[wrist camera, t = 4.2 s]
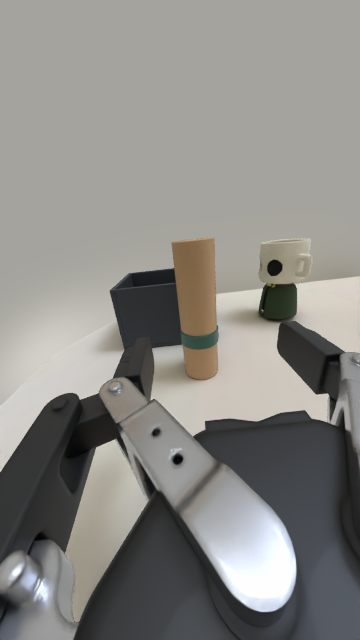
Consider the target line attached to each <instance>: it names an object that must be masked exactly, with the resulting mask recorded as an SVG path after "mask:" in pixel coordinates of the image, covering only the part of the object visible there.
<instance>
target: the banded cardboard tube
mask: <svg viewBox="0 0 360 640" xmlns="http://www.w3.org/2000/svg"><path fill="white" fill-rule="evenodd" d="M172 251H173V260H174V269H175V278H176V287H177V296H178V306H179V315H180V324H181V327H180V336H181V343H182V344H183V351H184V360H185V369H186V373H187V374H188V375H189V376H190V377H191V378H194V379H198V380H204V379H209V378H211V377H213V376H214V375H215V374H216V373H217V371H218V360H217V342H218V326H217V322H216V286H215V285H216V283H215V245H214V238H201V239H191V240H182V241H175V242H172Z"/></svg>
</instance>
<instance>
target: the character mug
mask: <svg viewBox="0 0 360 640" xmlns="http://www.w3.org/2000/svg"><path fill="white" fill-rule="evenodd" d="M310 245H311V239H284V240H274V241H267V242H262V244H261V252H260V269H259V273H258V274H259V279H260V280H261V281H262V282H266V285H265V286H264V288H263V292H262V296H261V300H260V306H259V314H260V315H261V310H262V309H263V310H264V317H267V318H271V319H285V318H289V317H292V316H294V315H296V313H297V288H296V285H295V284H294V283H296V282H300V281H302V280H304V278H305V277H308V276H309V275H310V272H311V266H312V260H313V257H312V256H311V255H309V251H310Z"/></svg>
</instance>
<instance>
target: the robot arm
mask: <svg viewBox="0 0 360 640" xmlns="http://www.w3.org/2000/svg"><path fill="white" fill-rule="evenodd" d="M277 349H278V352H279V354H280V355H281V357H282V358H283V359H284V360H285V361H286V362H287V363H288V364H289V365H290V366H291V367H292V369H293V370H294V371H295V372H296V373H297V374H298V375H299V376H300V377H301V378H302V380H303V381H304V382H305V383H306V384H307V385H308V386H309V387H310V388H311V389H312V390H313V392H314V393H315V394H325V393H328V394H329V397H328V409H327V422H324V421H320V420H315V419H311V417H310V416H309V415H308V414H307V412H306V411H305V410H304V411H294V412H285V413H279V414H277V415H274V416H272V417H269V418H266V419H264V420H261V421H258V422H255V421H246V420H237V419H221V420H212V421H205V429H206V430H204V431H201V432H199V433H198V434H196V435H195V436H193V437H192V436H191V435H190V434H189V433H188V432H187V431H186V430H185V428H184V427H183V426H182V425H181V424H180V423H179V422H178V421H177V420H176V419H175V418H174V417H173V416H172V415H171V414H170V413H169V412H168V411H167V410H166V409H165V408H164V407H163V406H162V405H161V404H160V403H159V402H158V401H157V400H155V399H153V400H151V401H150V398H151V390H152V382H153V374H154V357H153V352H152V347H151V341H150V338H149V337H142V338H137V339H136V342H135V345H134V346H133V347H128V348H127V349H126V350H125V351H124V352H123V354H122V357H121V359H120V362H119V364H118V367H117V369H116V372H115V374H114V377H113V379H111V380H109V381H107V382H106V383H105V384H104V385H103V386H102V387H101V388H100V390H99V393H98V394H96V395H93V396H90V397H87V398H84V399H81V400H80V399H79V397H78V395H77V394H74V393H67V394H63V395H60V396H58V397H56V398H54V399H53V400H51V401H50V402H49V403H48V404H47V405H46V406H45V407H44V408H43V410H42V411H41V413H40V414H39V416H38V417H37V419H36V420H35V421H34V423H33V424H32V426H31V427H30V429H29V430H28V432H27V433H26V435H25V436H24V438H23V439H22V441H21V442H20V444H19V445H18V447H17V448H16V450H15V451H14V453H13V454H12V456H11V457H10V459H9V460H8V462H7V463H6V465H5V466H4V468H3V469H2V471H1V472H0V640H360V353H355V352H344V351H343V350H341V349H340V348H338V347H337V346H335V345H334V344H332V343H331V342H329V341H327V340H326V339H325V338H323V337H321V335H319V334H318V333H316V332H314V331H312V330H309V329H307V328H305V327H303V326H302V325H300V324H299V323H297V322H296V321H291V322H282V323H281V324H280V326H279V333H278V342H277ZM114 439H115V440H116V442H117V444H118V445H119V447H120V449H121V451H122V453H123V454H124V456H125V458H126V460H127V462H128V463H129V465H130V467H131V469H132V471H133V473H134V475H135V477H136V479H137V482H138V484H139V486H140V488H141V490H142V492H143V494H144V496H145V497H146V499H147V501H148V503H147V505H146V506H145V508H144V510H143V511H142V513H141V515H140V516H139V518H138V519H137V521H136V523H135V524H134V526H133V528H132V529H131V531H130V532H129V534H128V536H127V537H126V539H125V541H124V542H123V544H122V545H121V547H120V549H119V550H118V552H117V554H116V555H115V557H114V558H113V560H112V562H111V563H110V565H109V567H108V568H107V570H106V571H105V573H104V575H103V576H102V578H101V580H100V581H99V583H98V584H97V586H96V588H95V589H94V591H93V593H92V595H91V597H90V599H89V601H88V603H87V605H86V607H85V609H84V612H83V614H82V616H81V619H80V621H79V622H78V623H75V622H74V618H73V614H72V597H73V590H74V583H75V573H74V568H73V565H72V563H71V561H70V560H69V559H68V557H67V556H66V555H65V551H66V548H67V544H68V541H69V538H70V534H71V531H72V527H73V524H74V521H75V517H76V514H77V510H78V507H79V504H80V500H81V497H82V493H83V490H84V487H85V483H86V480H87V476H88V473H89V470H90V466H91V463H92V459H93V456H94V453H95V449H96V447H98V446H100V445H103V444H105V443H107V442H110V441H112V440H114Z"/></svg>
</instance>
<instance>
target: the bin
mask: <svg viewBox="0 0 360 640" xmlns="http://www.w3.org/2000/svg"><path fill="white" fill-rule="evenodd" d="M110 294H111V298H112V302H113V306H114V310H115V314H116V318H117V322H118V326H119V330H120V334H121V338H122V342H123V345H124V349H125V350H126V349H127V348H128V347H133V346H134V345H135V342H136V339H137V338H142V337H149V338H150V341H151V347H161V346H170V345H179V344H182V343H181V336H180V327H181V324H180V315H179V306H178V296H177V287H176V278H175V269H174V268H173V269H164V270H155V271H146V272H138V273H129V274H128V275H127V276H126V277H124V278H123V279H122V280H121V281H120V282H119V283H118V284H117V285H116V286H115V287H113V288H112V289H111V290H110Z"/></svg>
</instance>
